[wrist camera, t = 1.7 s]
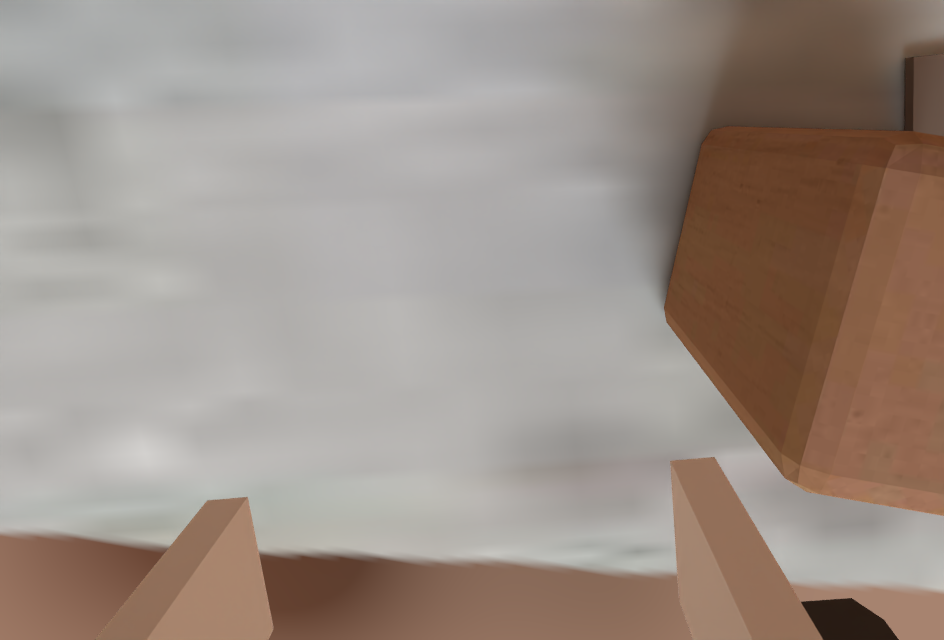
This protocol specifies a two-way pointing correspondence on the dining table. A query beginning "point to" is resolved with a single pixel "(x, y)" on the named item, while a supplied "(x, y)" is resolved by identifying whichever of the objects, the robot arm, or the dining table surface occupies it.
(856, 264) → the wooden block
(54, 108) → the dining table surface
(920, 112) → the mat
